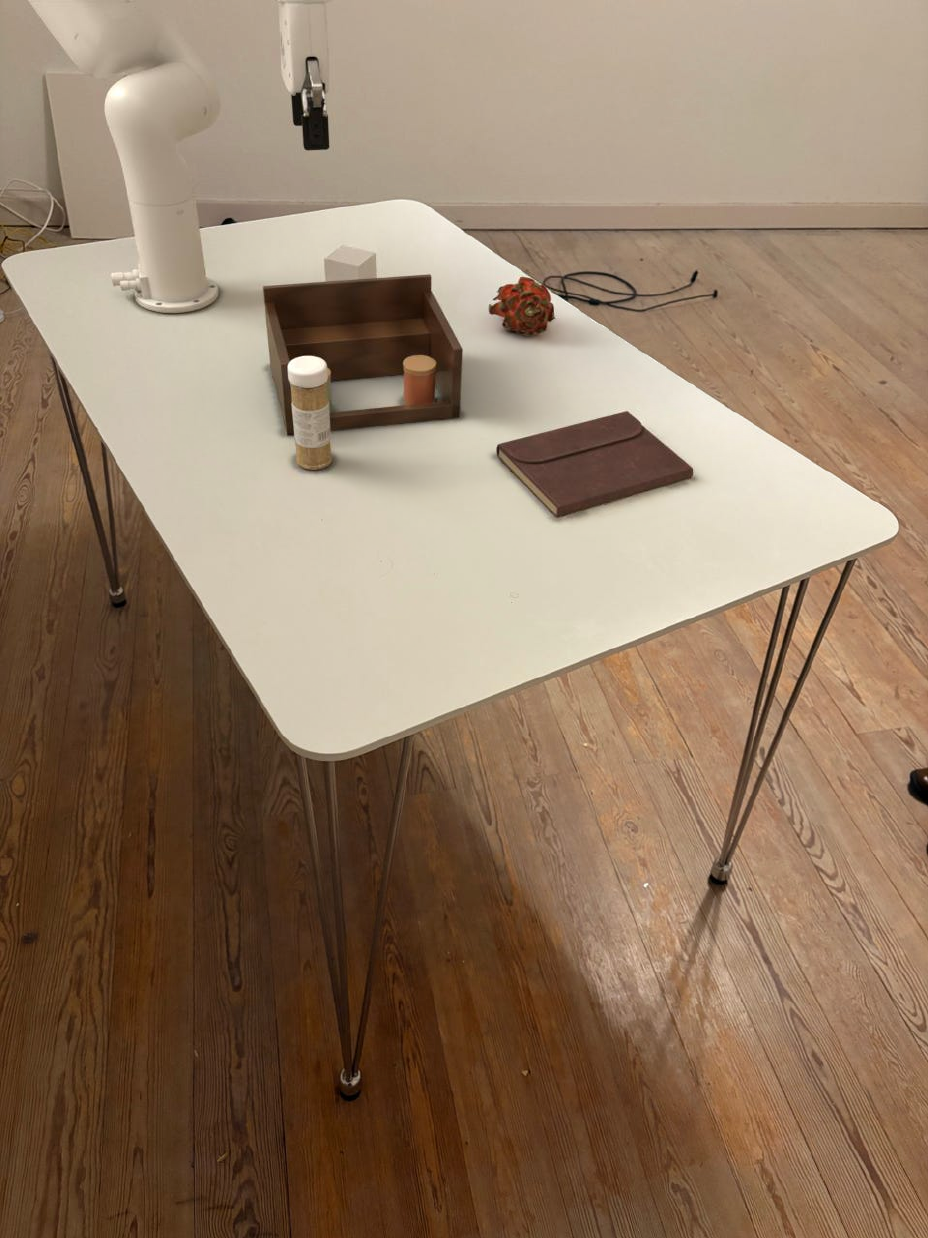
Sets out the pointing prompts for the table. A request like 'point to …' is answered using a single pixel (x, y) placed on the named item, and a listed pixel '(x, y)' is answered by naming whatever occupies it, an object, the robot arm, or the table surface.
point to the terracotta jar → (419, 379)
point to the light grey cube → (350, 264)
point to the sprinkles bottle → (310, 411)
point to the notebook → (592, 463)
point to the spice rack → (364, 341)
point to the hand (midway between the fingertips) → (310, 136)
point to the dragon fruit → (524, 307)
